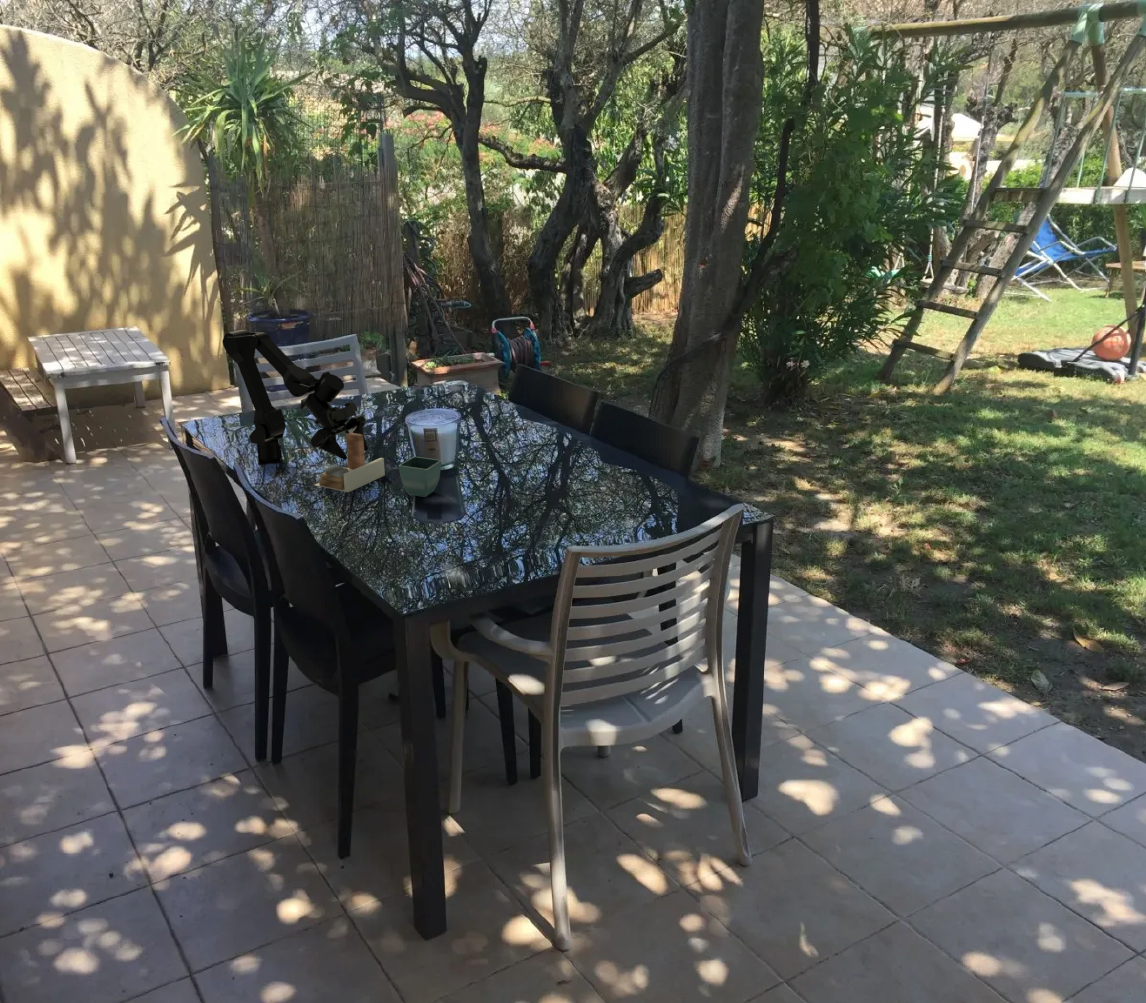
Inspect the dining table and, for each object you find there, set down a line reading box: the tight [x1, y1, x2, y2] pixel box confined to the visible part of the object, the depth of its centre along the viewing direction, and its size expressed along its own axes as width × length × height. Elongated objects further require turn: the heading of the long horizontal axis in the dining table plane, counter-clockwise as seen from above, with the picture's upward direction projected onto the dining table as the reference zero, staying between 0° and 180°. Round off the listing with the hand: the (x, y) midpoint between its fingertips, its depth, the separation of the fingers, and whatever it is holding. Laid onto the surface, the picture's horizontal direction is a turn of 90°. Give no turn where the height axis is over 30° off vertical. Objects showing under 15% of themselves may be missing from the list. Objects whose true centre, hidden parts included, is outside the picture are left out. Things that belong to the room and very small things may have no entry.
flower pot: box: [398, 456, 442, 498], centre depth 269 cm, size 9×9×9 cm
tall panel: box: [345, 432, 366, 469], centre depth 279 cm, size 4×2×12 cm, turn 63°
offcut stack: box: [318, 465, 348, 491], centre depth 272 cm, size 8×5×5 cm, turn 63°
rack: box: [314, 457, 386, 493], centre depth 276 cm, size 12×16×6 cm
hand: (356, 454), depth 279 cm, fingers open, 9 cm apart
